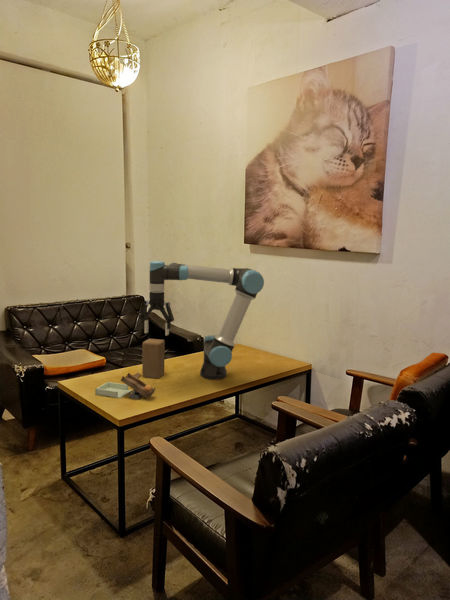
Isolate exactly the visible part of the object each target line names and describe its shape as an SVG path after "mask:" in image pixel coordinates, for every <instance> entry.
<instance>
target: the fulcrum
mask: <svg viewBox="0 0 450 600" xmlns="http://www.w3.org/2000/svg"><path fill="white" fill-rule="evenodd" d="M128 396H129V397H128V398H129V399H133V400H140V399H141V398H143V397H144V396H143V395H142V394H140V393H139V392H137V391H136V390H133V389H132V391H131V392H130V393H128Z"/></svg>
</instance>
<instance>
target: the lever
mask: <svg viewBox="0 0 450 600" xmlns="http://www.w3.org/2000/svg"><path fill="white" fill-rule="evenodd" d="M141 377H142V374H141V373H140V372H136V373H135V374H131V373H130V372H128V373H127V375H126V376H124V375H122V377H121V378H120V382H122V384H126V385H128V388H129V387H130V388H131V390H132V391H133V390H136V391H137V392H139V393H140V394H142V395H143V397H145V398H146V399H148V398H149V397H151V396H152V395H154V394H155V391H156V387H152V390H150V391H149V392H147V391H146V390H144V388H145V386H146V385H148V383H145V382H144V381H142V380H140V379H139V378H141Z"/></svg>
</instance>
